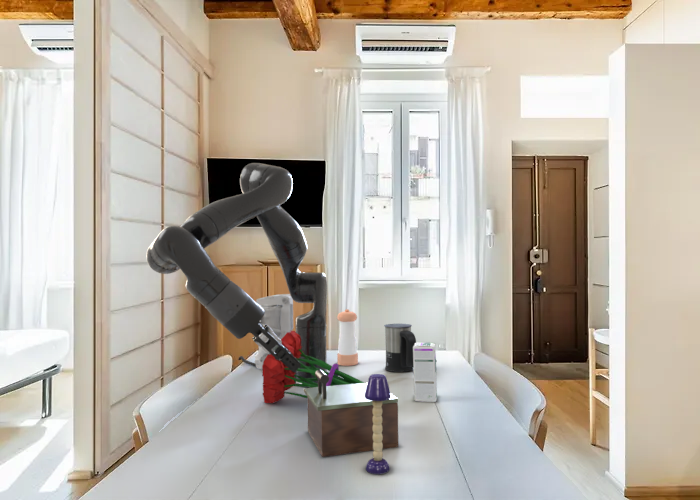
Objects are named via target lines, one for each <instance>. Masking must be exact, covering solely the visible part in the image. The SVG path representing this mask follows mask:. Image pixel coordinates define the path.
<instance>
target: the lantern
mask: <svg viewBox="0 0 700 500" xmlns="http://www.w3.org/2000/svg"><path fill="white" fill-rule="evenodd" d="M255 302H256V303H258V304H259V305H260V306H261V307H262V308H263V309H264V310H265V314H264V316H263V318H262V319H261V320H260V322H261V324H262V325H263V326H264V325H265V324H267V325H268V326H269V327H270V328H271V329H272V330H273V332H274V333H275V334H276V335H277V337H278V338H279V339H280V340H281V339H282V338H283V337H284V336H285V335H286V333H287V332H291V331H294V300H293V299H292V297H291V295H290V293H282V294H274V295H268V296H264V297H259V298H256V300H255ZM290 330H291V331H290ZM267 355H268V353H267V352H266V351H265V350H264V349H263V348H262V347H261V346H259V345H258V352H256V353H255V354H254V362H253V363H255V364H256V366H255V367H256V369H257V370H262V369H263V368H262V366H263V362H264V360H265V358H266V356H267ZM269 355H270V354H269Z"/></svg>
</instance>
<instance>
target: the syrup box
mask: <svg viewBox="0 0 700 500" xmlns="http://www.w3.org/2000/svg"><path fill="white" fill-rule="evenodd" d="M436 354H437V353H436V343H435V342H430V341H429V342H427V341H426V342H425V341H421V342H416V343H415V344H414V346H413V369H412V370H413V394H414V395H413V397H414V398H413V399H414V401H415V402H423V403H436V402H437V399H438V384H437V383H438V382H437V362H436V360H437V355H436Z"/></svg>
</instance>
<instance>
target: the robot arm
mask: <svg viewBox="0 0 700 500" xmlns="http://www.w3.org/2000/svg"><path fill="white" fill-rule="evenodd" d="M293 184H294V183H293V178H292V174H291V173H290V172H289V170H287V168H286V169H285V168H283V167H281V166H276V165H273V164H272V165H271V164H266V163H260V162H251V163H248V164H247V165H245V166H244V167H243V168H242V170H241V173H240V178H239V185H240V189H241V192H242V193H241V194H236V195H233V196H228V197H225V198H222V199H218V200H216V201H213V202H211V203H209V204H206V205H205V206H204V207H201V208H200V209H199V210H197V211H196V212H194V213H192V214H191V215H190V216H189V217H187V218H186V219H185V220H184V222H182V224H181V225H180V226H178V225H170V226H167V227H164V228H163V229H162V230H161V231H160V232H159V233H158V234H157V236H156V238H155V239H154V240H153V241H152V242H151V244H150V245H149V246H148V248H147V250H146V263H147V265H148V266H149V268H150V269H151V270H152V271H154V272H156V273H158V274H163V275H168V274H173V273H177V272H178V271H179V270H181V272H182V274H183V275H184V276H185V277H186V281H185V289H186V290H187V292H188V293H189V294H190V295H191V297H193V298H194V299H195V300H196V301H198V302H199V303H200V304H201V305H202V306H203V307H204V308H205V309H206V310H207V311H208V313H209V314H210V315H211V316H212V317H213V318H214V319H215V320H216V321H218V322H219V323H220V324H221V325H222V326H223V327H224V328H225V329H226V330H227V331H228V332H229V333H230V334H232V335H233V336H234V338H236V339H239V340H241V339H243V338H244V337H247V335H248V334H251V335H252V336H253V337H252V340H253V342H254V343H255V344H256V345H257V346H258V347H259V346H261V347H262V348H263V349H264V350H265V351H266V352H267V353H268V354H272V355H273V356H274V357H275V359H276V360H279V361H281V362H282V363H283V364H285V365H286V366H287V367H288V368H289V369H290V370H291V371H292V372H294V373H295V372H296V373H295V375H298V376H301V377H304V378H315V377H314V376H313V375H312V374H311V373H308V372H301V371H296V370H297V369H298V368H299V369H305V368H301V367H300V366H301V363H302V364H303V365H305V366H308V367H312V366H311V365H310V364H309V363H308V362H304V361H299V360H297V359H296V358H295V357H294V356H293V354H292V353H291V352H290V351H289V350H288V349H287V348H286V347H284V346H283V345H282V341H281V340H280V339H279V338H278V337H277V335H276V334H275V333H274V332H273V330H272V329H271V328H270V327H269V326H268V325H267V324H265V325H264V326H263V325H262V324H261V322H260V320H261V319H262V318H263V316H264V314H265V310H264V309H263V308H262V307H261V306H260V305H259V304H258V303H256V300H254V298H252V297H251V296H250V295H249V293H247V292H246V291H245V290H244V289H243V288H242V287H240V286H239V285H238V284H237V283H235V282H234V281H232V280H231V279H230V278H229V277H228V276H227V275H226V274H225V273H224V272H222V270H220V268H218V267H217V266H216V265H215V264H214V262H213V259H212V258H211V257H210V255H209V253H208V252H207V251H206V248H207V247H209V246H211V245H213V244H214V243H215V242H217V241H219V240H220V239H221V238H223V237H224V236H225V235H227V234H228V233H230V232H231V231H232V230H234V229H236V228H237V227H238V226H240V225H242V224H244V223H246V222H247V221H249V220H251V219H254V218H255V217H256V218H257V221H258V222H259V223H260V226H261V228H262V230H263V232H264V234H265V237H266V238H267V240H268V243H269V245H270V247H271V250H272V252H273V254H274V256H275V258H276V260H277V262H278V264H279V267H280V269H281V271H282V274H283V276H284V277H283V278H284V279H285V283H286V286H287V289H288V292H289V294H290V296H291V297H292V299H293V302H294V303H298V304H313V306H312V309H310V310H309V311H307V312H305V313H302V314H300V315H297V316H296V317H295V322H294V323H295V332H296V333H297V334H298V335H300V337H301V346H302V348H301V351H303V353H304V354H305V355H307V356H310V357H313V358H316V359H319V360H321V361H324V362H326V363H327V364H328V362H327V361H328V359H327V357H328V355H327V354H328V353H327V312H328V311H327V306H328V303H327V302H328V280H327V276H326V274H325V273H324V272H308V271H307V272H301V271H300V270H299V267H300V265H301V264H302V263H303V261H304V259H305V257H306V254H307V250H308V244H307V240H306V237H305V235H304V232H303V230H302V228H301V226H300V225H299V223H298V222H297V221H296V220H295V219H294V218H293V217H292V216H291V215H290V214H289V213H288V212H287V211H286V210H285V209H284V208H283V207H282V206H281V205H282V204H285V202H287V200H288V199H289V198H290V197H291V194H292V192H293ZM300 359H305V357H303V356H301V357H300ZM308 359H309V358H308ZM237 360H238V361H242V362H243V363H245V364H247V365H250V366H253V367H256V364H255V363H254V362H253V361H250V360H247V359H245V358H244V356H243V355H240V356H239V357H238V359H237ZM309 360H311V359H309ZM312 361H314V360H312ZM300 362H301V363H300ZM313 365H314V366H315V368H319V369H321V370H324V371H326V372H328V370H326V369H324V368H322V367H321V366H319V365H316V364H313ZM294 377H295V376H294ZM295 378H296V379H300V378H298V377H295ZM303 382H306V381H303ZM313 382H315V383H317V384H318V381H313ZM306 383H308V382H306ZM295 384H302V383H299V382H297V381H295ZM308 384H310V383H308Z"/></svg>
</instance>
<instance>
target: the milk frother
mask: <svg viewBox="0 0 700 500" xmlns="http://www.w3.org/2000/svg"><path fill="white" fill-rule="evenodd" d="M383 327H384V333H385V334H384V335H385V336H384V337H385V339H384V340H385V367H384V369H385V370H386V371H388V372H393V373H404V372H410V371H412V370H414V369H413V346H414V344H415V343H417V339H416V335H415V334H414V332H413V331H412V327H413V326H412V324H411V323H388V324H387V323H386V324H384V326H383ZM436 363H437V359H436Z"/></svg>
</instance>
